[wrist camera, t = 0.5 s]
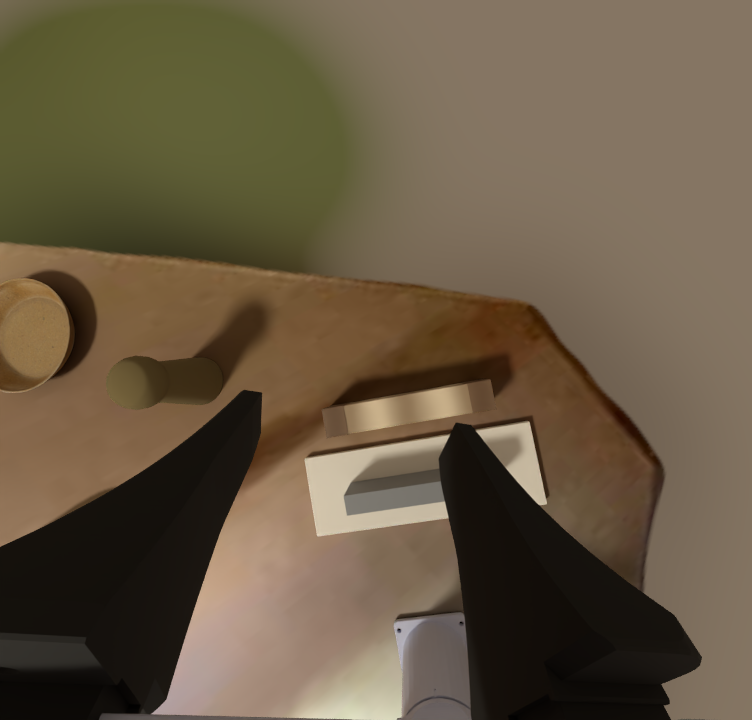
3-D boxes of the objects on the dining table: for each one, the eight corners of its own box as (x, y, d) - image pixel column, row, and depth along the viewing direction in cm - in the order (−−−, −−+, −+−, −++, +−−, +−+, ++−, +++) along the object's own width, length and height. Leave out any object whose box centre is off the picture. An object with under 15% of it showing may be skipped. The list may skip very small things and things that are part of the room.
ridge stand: (543, 501, 35) (566, 521, 30) (319, 533, 38) (305, 557, 33) (526, 420, 36) (545, 428, 31) (306, 457, 38) (291, 469, 33)
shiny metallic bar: (481, 379, 37) (490, 379, 33) (486, 405, 37) (496, 409, 32) (330, 405, 38) (321, 409, 34) (335, 431, 38) (326, 438, 34)
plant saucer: (-3, 282, 44) (-28, 276, 41) (94, 284, 43) (73, 278, 40) (-13, 389, 43) (-40, 389, 41) (84, 394, 42) (63, 396, 39)
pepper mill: (177, 358, 41) (92, 352, 30) (222, 355, 40) (152, 348, 29) (178, 406, 40) (93, 417, 29) (223, 403, 40) (154, 414, 29)
